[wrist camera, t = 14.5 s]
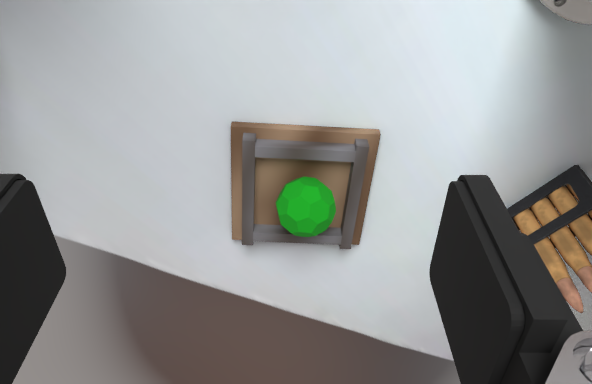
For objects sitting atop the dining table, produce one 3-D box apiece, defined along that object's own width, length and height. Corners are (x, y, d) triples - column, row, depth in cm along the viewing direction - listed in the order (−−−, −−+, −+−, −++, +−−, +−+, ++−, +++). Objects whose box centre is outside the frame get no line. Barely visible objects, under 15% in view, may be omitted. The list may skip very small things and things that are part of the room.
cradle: (379, 129, 40) (382, 142, 39) (357, 239, 47) (360, 253, 46) (231, 121, 39) (229, 134, 38) (232, 233, 47) (231, 248, 45)
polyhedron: (264, 189, 43) (262, 225, 39) (305, 155, 41) (307, 189, 37) (304, 221, 45) (305, 257, 41) (345, 190, 43) (350, 225, 39)
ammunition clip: (576, 163, 42) (662, 262, 33) (586, 175, 43) (672, 275, 34) (472, 231, 47) (520, 335, 37) (483, 241, 48) (532, 345, 38)
